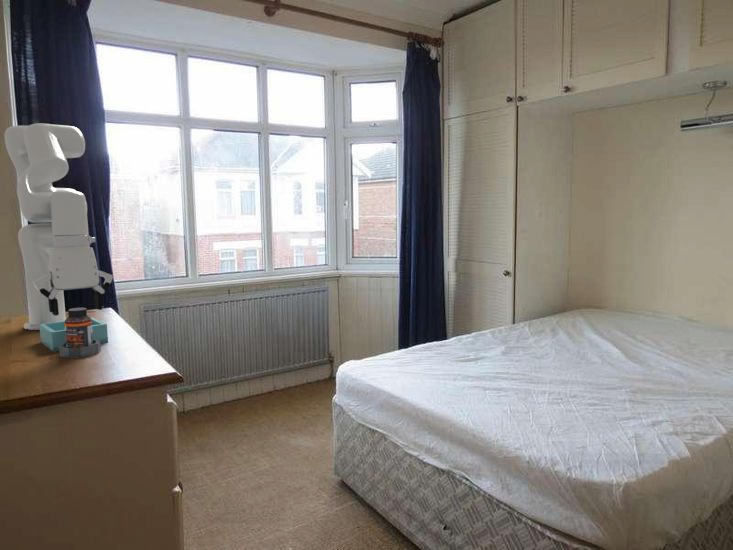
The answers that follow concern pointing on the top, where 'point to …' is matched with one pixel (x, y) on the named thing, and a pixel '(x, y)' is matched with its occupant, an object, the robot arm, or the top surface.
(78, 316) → the supplement bottle
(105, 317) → the top surface
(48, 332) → the bin
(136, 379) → the top surface
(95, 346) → the collar
